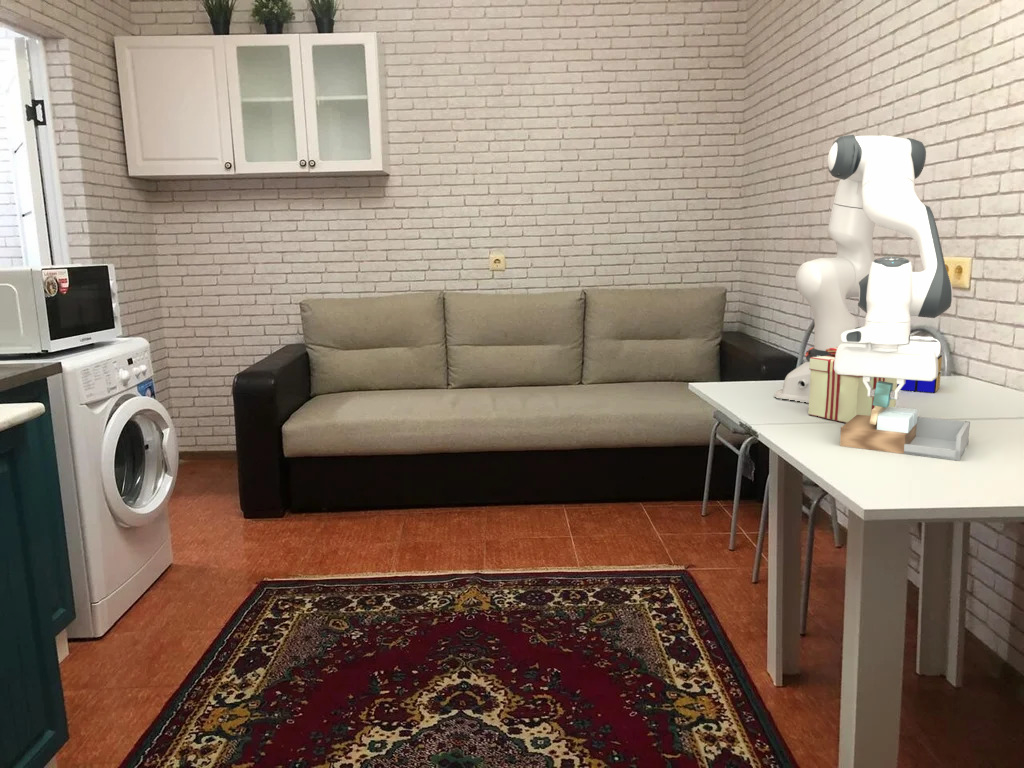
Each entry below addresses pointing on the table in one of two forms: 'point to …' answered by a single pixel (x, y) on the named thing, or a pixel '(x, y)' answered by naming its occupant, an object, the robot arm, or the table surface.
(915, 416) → the tile far
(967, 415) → the table surface
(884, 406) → the teal-headed mallet
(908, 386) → the puzzle cube
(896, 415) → the tile near
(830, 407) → the gift box
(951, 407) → the table surface
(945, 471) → the table surface
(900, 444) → the tan wooden board
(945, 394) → the table surface
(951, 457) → the tray
